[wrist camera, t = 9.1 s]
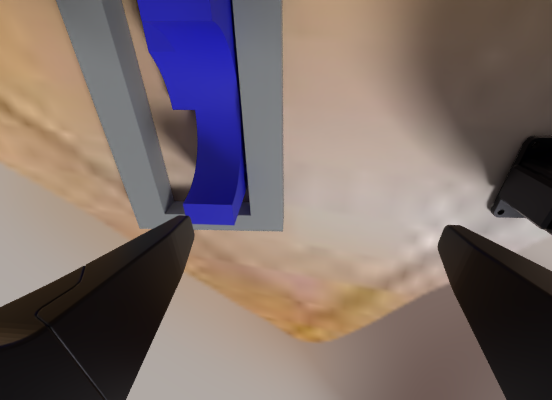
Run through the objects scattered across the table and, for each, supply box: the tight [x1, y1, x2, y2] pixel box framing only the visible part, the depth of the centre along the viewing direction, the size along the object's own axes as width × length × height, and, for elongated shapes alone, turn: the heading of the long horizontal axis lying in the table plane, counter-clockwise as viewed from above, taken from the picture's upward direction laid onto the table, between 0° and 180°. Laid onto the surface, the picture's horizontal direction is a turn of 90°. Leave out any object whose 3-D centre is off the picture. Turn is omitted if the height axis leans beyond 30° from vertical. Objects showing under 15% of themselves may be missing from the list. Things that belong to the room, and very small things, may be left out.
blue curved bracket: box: [137, 0, 248, 225], centre depth 16 cm, size 12×4×6 cm, turn 0°
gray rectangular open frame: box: [56, 0, 284, 231], centre depth 17 cm, size 12×18×2 cm, turn 1°
